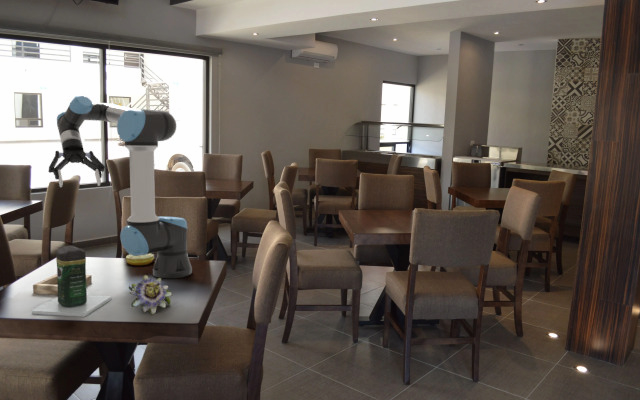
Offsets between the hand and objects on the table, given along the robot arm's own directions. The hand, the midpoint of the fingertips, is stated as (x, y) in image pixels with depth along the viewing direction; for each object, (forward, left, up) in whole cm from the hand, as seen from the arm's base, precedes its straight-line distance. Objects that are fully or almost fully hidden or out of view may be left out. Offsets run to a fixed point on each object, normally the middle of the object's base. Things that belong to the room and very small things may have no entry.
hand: (80, 184), depth 200 cm
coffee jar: (-16, +36, -35) cm, 53 cm away
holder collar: (-2, +18, -36) cm, 40 cm away
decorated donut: (-13, -22, -36) cm, 44 cm away
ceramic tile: (-16, +36, -36) cm, 53 cm away
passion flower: (-41, +35, -36) cm, 65 cm away
